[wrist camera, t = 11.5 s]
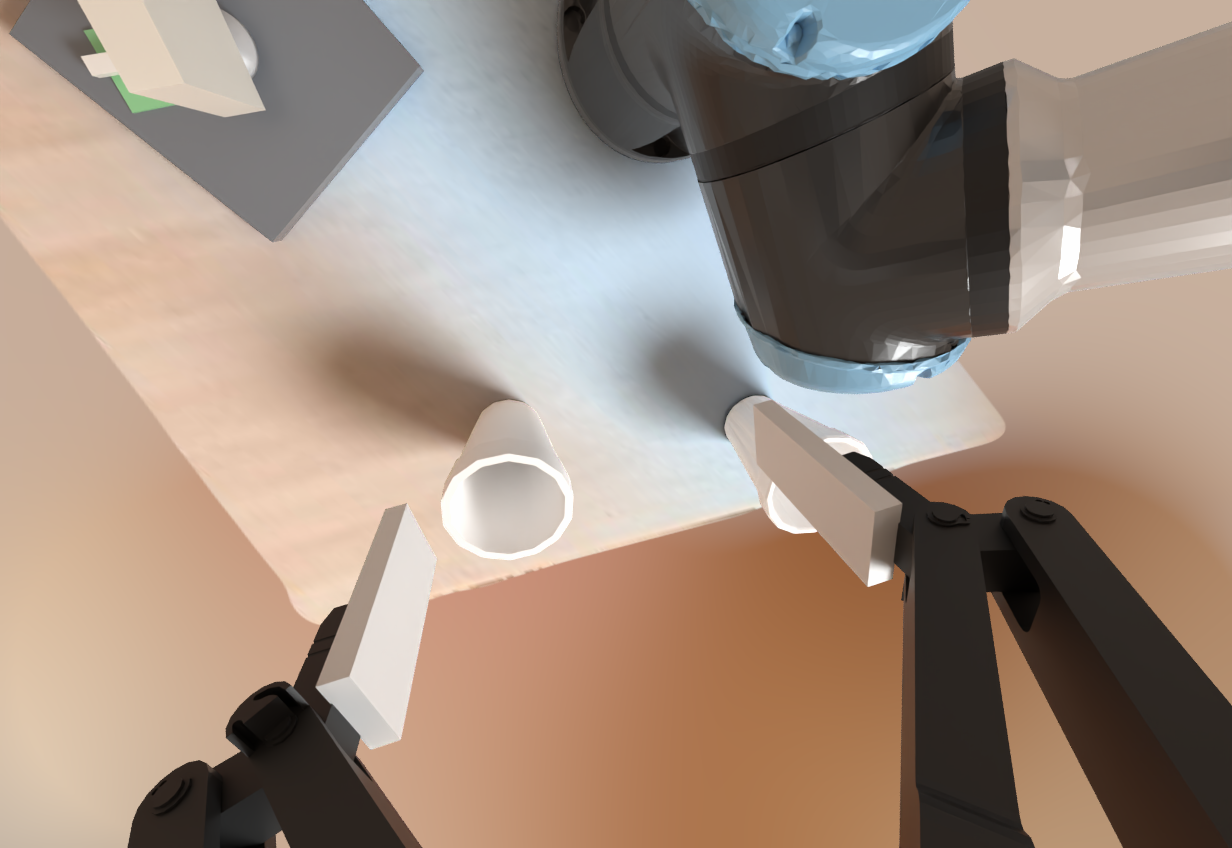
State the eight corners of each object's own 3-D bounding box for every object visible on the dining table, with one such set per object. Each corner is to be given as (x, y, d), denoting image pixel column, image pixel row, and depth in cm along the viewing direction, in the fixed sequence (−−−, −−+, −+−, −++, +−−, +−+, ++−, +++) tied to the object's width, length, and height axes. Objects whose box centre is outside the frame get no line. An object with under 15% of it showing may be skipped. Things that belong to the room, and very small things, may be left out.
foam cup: (456, 383, 42) (436, 455, 30) (558, 384, 44) (575, 451, 32) (462, 472, 46) (446, 564, 34) (555, 469, 48) (569, 555, 36)
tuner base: (188, -198, 25) (167, -223, 23) (423, 70, 31) (419, 64, 30) (33, 41, 27) (5, 32, 26) (281, 240, 34) (271, 242, 33)
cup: (706, 385, 47) (769, 448, 36) (796, 370, 48) (884, 425, 37) (706, 467, 52) (762, 545, 40) (788, 450, 53) (865, 522, 42)
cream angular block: (59, -6, 26) (-173, -107, 17) (227, -30, 27) (88, -139, 18) (142, 139, 29) (-16, 116, 20) (289, 113, 30) (198, 80, 21)
